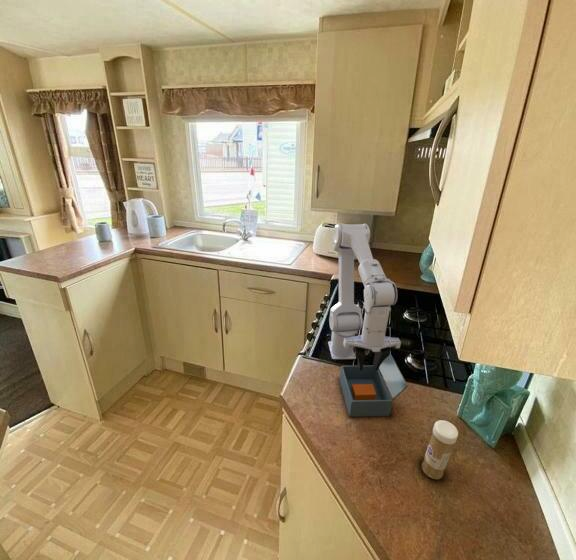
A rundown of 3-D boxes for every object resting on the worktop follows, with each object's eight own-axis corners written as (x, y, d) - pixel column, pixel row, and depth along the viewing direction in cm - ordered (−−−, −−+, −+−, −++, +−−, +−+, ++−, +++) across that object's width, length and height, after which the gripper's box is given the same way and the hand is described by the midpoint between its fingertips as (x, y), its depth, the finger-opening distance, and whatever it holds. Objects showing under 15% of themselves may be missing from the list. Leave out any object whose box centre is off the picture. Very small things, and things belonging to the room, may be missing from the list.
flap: (389, 351, 92) (390, 352, 92) (376, 363, 93) (377, 363, 94) (407, 385, 79) (408, 386, 79) (392, 398, 81) (393, 399, 81)
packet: (354, 401, 87) (355, 394, 86) (351, 390, 91) (351, 384, 90) (375, 400, 88) (376, 394, 87) (371, 390, 91) (372, 383, 90)
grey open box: (339, 379, 96) (341, 365, 93) (374, 379, 96) (376, 365, 94) (349, 416, 83) (351, 401, 81) (389, 415, 84) (392, 400, 81)
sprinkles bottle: (417, 464, 71) (429, 422, 66) (433, 458, 73) (446, 416, 67) (431, 483, 68) (446, 440, 62) (448, 476, 69) (464, 434, 63)
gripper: (349, 335, 75) (344, 378, 81) (408, 335, 76) (399, 378, 82) (344, 319, 82) (339, 360, 88) (398, 319, 82) (390, 360, 88)
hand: (367, 368), depth 85 cm, fingers open, 4 cm apart
